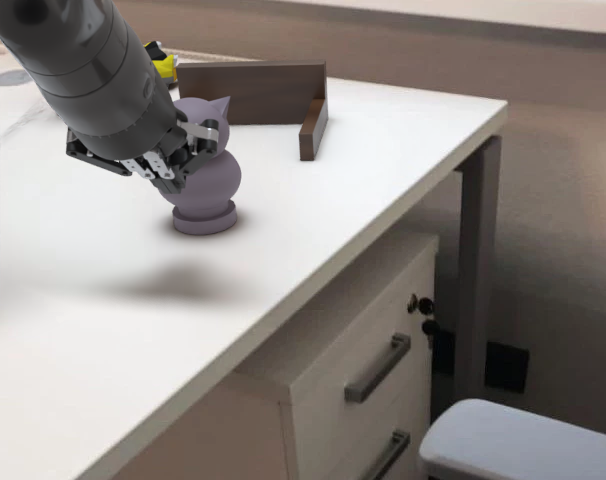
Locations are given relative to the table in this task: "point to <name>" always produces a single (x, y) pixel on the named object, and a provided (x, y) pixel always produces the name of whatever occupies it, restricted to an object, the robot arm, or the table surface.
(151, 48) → the black and yellow sneaker
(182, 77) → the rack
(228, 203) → the cat figurine
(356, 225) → the table surface
